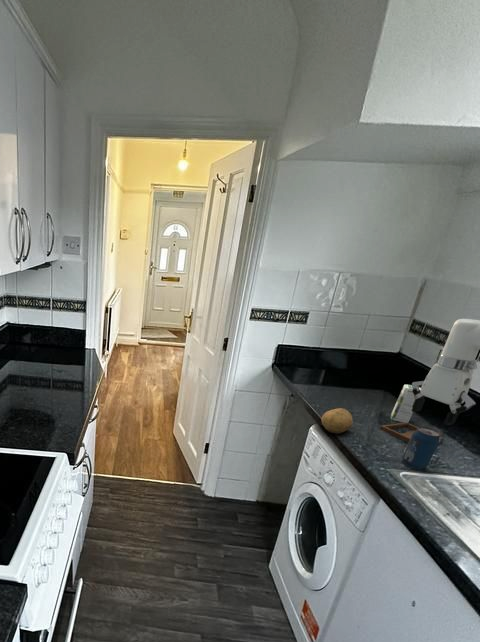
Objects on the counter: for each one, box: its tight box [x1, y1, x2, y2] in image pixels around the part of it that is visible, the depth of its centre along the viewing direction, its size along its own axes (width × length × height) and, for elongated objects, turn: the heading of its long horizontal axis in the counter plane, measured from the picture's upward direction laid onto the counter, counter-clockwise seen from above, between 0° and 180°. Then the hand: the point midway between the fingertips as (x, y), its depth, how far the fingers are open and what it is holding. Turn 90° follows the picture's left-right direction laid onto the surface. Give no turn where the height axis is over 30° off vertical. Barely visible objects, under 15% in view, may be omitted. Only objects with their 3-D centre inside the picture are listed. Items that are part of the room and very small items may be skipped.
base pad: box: [379, 422, 444, 444], centre depth 151 cm, size 14×14×2 cm
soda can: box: [401, 426, 441, 470], centre depth 129 cm, size 7×7×12 cm
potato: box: [321, 407, 354, 435], centre depth 151 cm, size 10×14×8 cm
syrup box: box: [390, 384, 421, 423], centre depth 162 cm, size 6×6×14 cm
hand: (431, 417), depth 125 cm, fingers open, 9 cm apart
